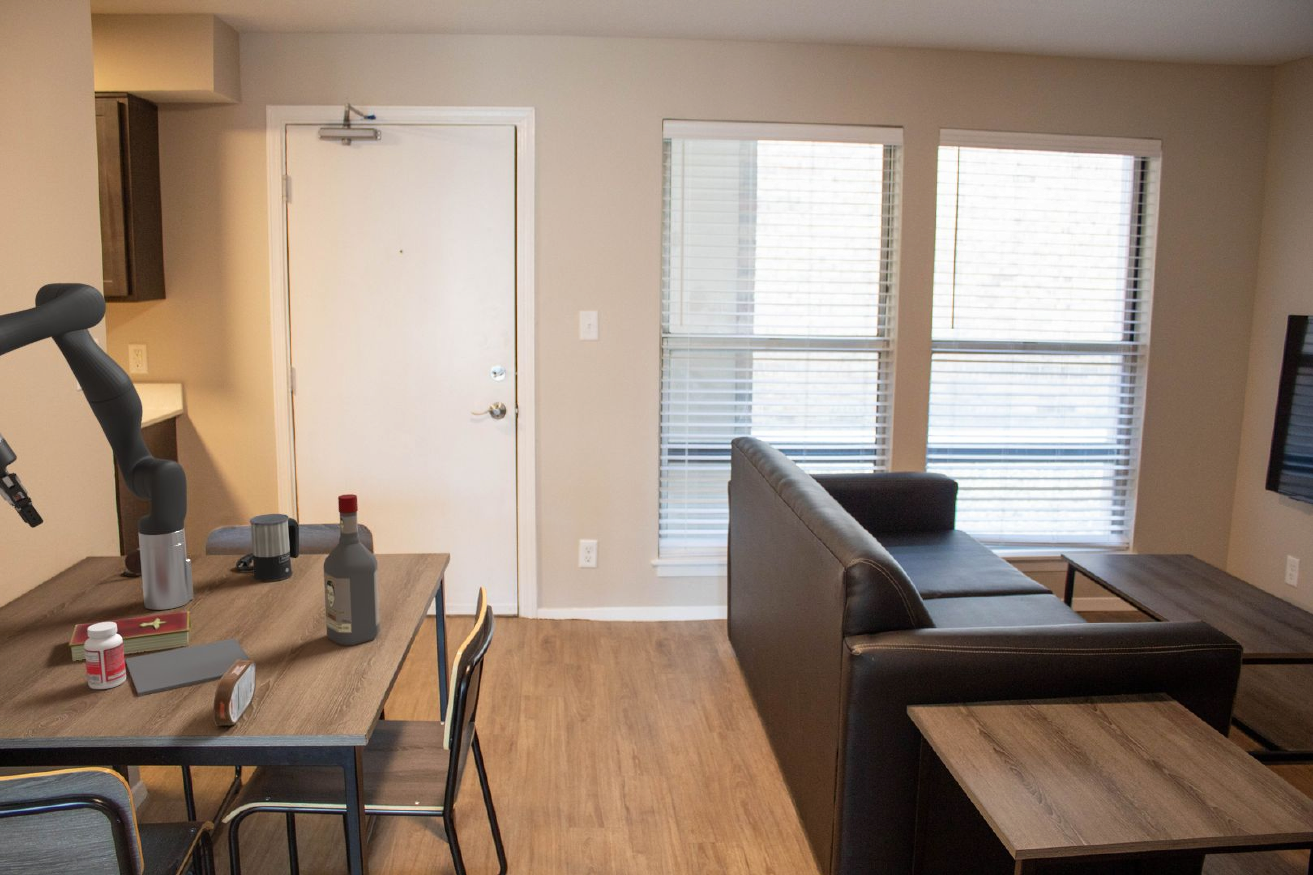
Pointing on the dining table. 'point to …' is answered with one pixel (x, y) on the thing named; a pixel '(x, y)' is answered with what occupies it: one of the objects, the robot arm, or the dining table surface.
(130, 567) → the compass
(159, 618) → the hardcover book
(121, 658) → the pill bottle
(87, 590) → the dining table surface
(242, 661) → the tin
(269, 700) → the dining table surface
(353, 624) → the liquor
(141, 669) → the mat
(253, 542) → the milk frother
